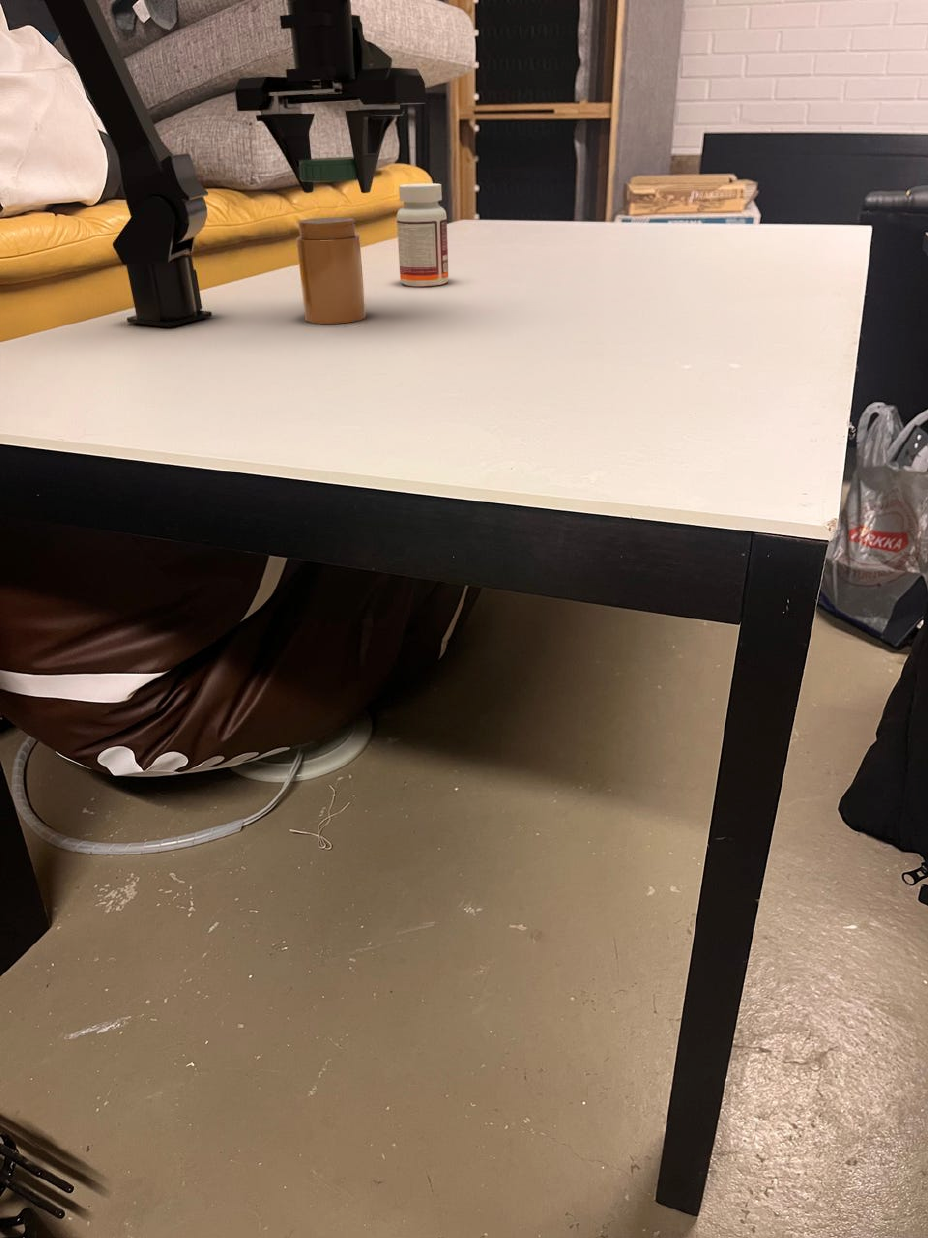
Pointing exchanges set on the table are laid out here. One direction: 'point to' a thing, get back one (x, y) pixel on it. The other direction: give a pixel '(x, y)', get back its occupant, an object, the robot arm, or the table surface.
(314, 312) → the jar
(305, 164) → the jar lid
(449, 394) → the table surface
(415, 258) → the pill bottle
